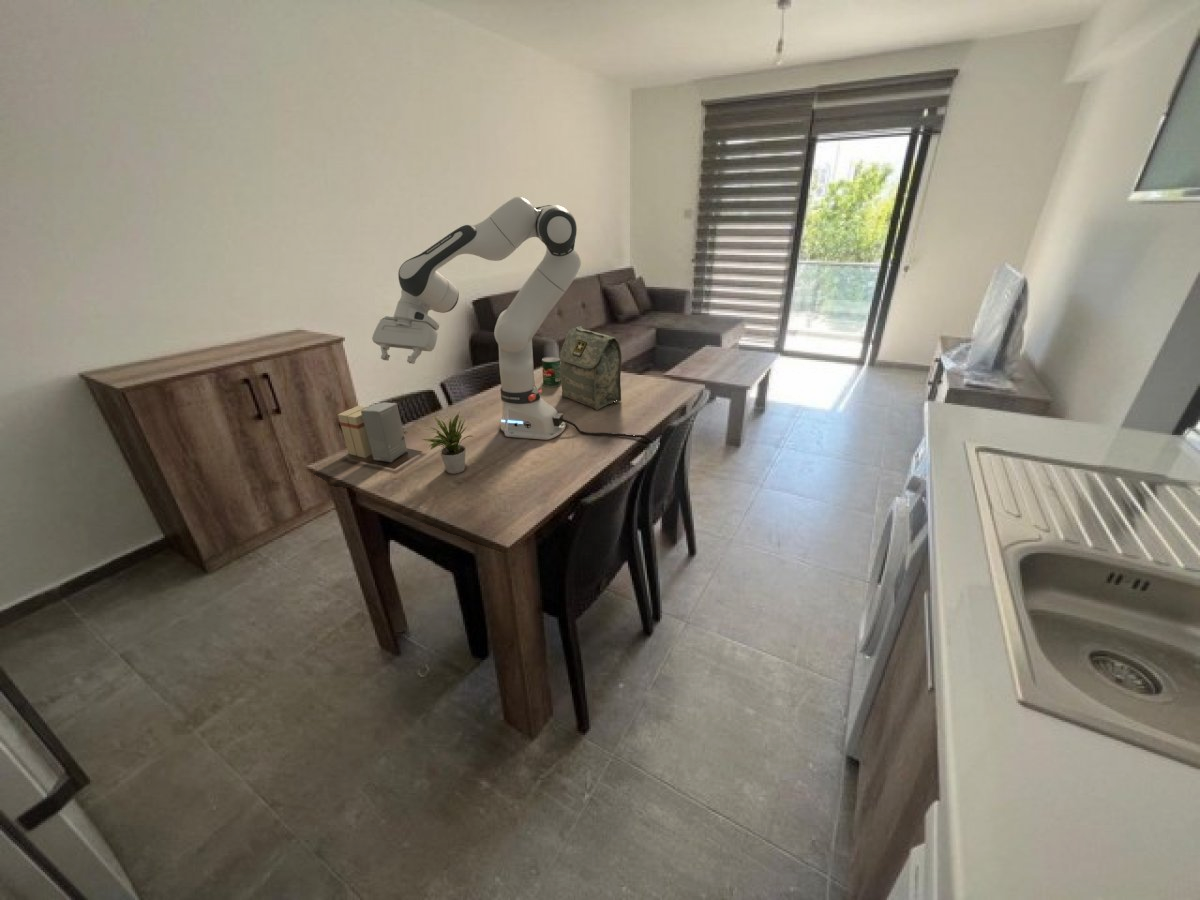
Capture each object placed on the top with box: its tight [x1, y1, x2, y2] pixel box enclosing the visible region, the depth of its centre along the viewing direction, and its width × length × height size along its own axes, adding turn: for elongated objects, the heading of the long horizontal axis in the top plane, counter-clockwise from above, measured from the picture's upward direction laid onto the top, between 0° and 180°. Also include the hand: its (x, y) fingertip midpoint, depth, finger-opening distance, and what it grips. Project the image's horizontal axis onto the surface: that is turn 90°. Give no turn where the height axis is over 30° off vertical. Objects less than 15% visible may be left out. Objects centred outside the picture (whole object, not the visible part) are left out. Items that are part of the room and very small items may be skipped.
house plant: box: [422, 411, 474, 475], centre depth 136 cm, size 14×14×16 cm
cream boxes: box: [337, 405, 372, 458], centre depth 144 cm, size 7×8×13 cm
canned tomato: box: [541, 356, 561, 388], centre depth 205 cm, size 8×8×11 cm
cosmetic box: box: [361, 401, 408, 462], centre depth 140 cm, size 8×7×16 cm
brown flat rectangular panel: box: [342, 447, 423, 470], centre depth 145 cm, size 20×12×1 cm, turn 68°
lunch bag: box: [558, 325, 622, 411], centre depth 183 cm, size 22×16×27 cm
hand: (397, 361), depth 142 cm, fingers open, 8 cm apart
